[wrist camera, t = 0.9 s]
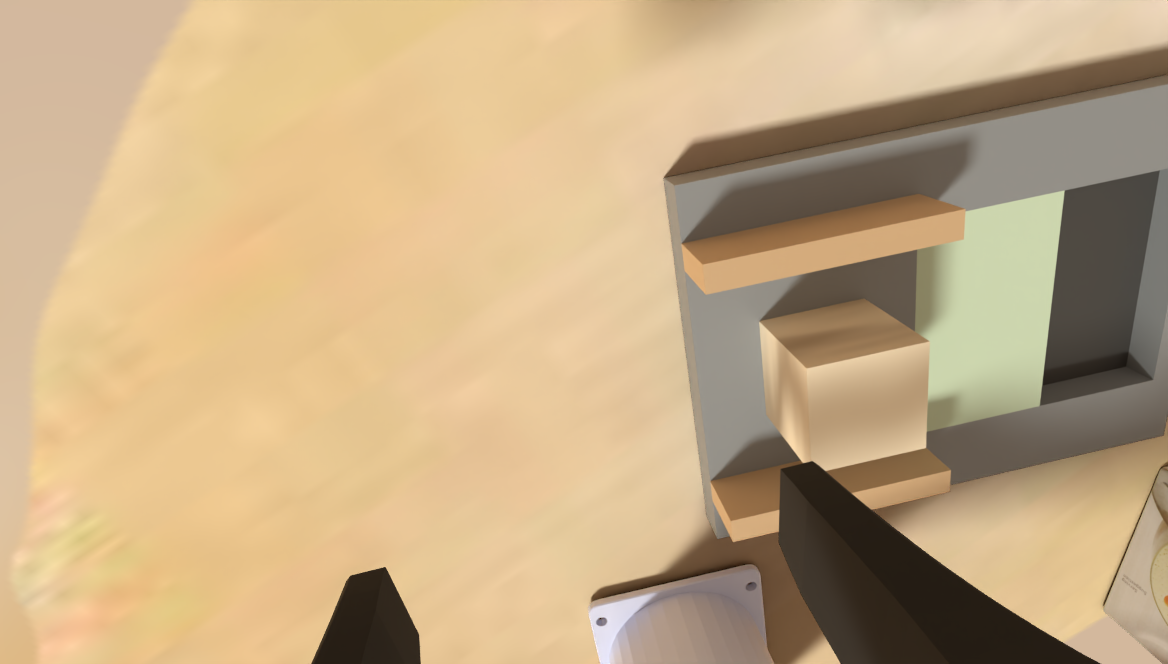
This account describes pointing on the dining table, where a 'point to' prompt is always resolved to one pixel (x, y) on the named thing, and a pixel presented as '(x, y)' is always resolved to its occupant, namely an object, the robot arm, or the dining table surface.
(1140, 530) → the coffee box
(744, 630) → the robot arm
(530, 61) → the dining table surface
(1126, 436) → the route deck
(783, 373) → the birch block
